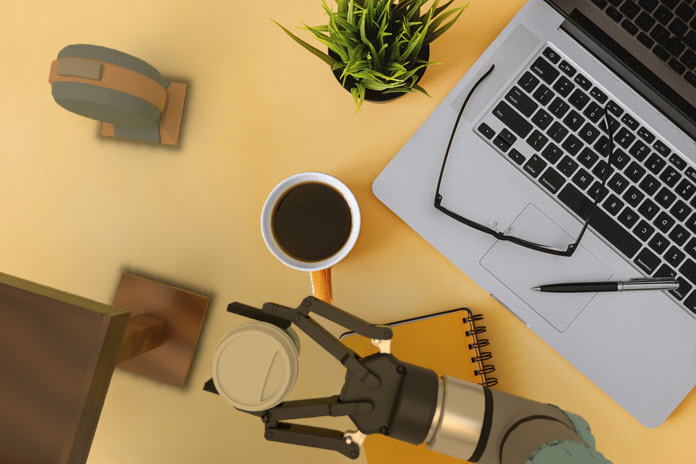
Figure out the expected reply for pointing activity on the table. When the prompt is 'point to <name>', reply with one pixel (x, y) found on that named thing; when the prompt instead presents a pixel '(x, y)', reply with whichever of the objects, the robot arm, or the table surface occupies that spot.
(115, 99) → the alarm clock
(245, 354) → the coffee cup
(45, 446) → the serving tray
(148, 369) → the tray stand
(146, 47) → the table surface
